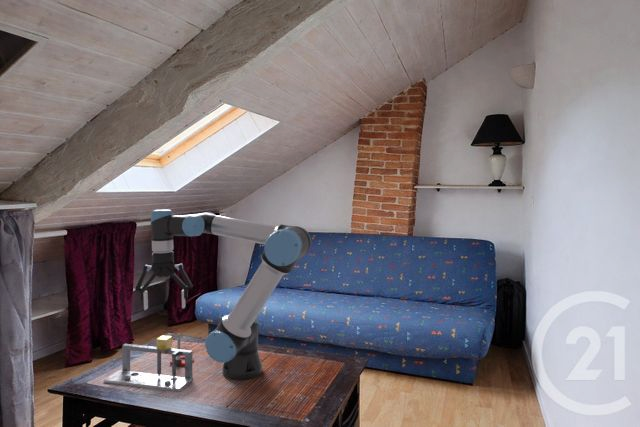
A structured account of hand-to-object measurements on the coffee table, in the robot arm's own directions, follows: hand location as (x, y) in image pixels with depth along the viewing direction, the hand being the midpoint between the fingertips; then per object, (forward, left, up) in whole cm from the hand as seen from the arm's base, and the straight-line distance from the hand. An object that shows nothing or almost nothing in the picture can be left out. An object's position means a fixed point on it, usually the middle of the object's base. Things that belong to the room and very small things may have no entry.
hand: (165, 308), depth 173 cm
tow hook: (+1, -15, -27) cm, 30 cm away
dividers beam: (+4, +1, -26) cm, 27 cm away
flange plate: (+4, +5, -26) cm, 27 cm away
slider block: (+1, 0, -25) cm, 25 cm away
